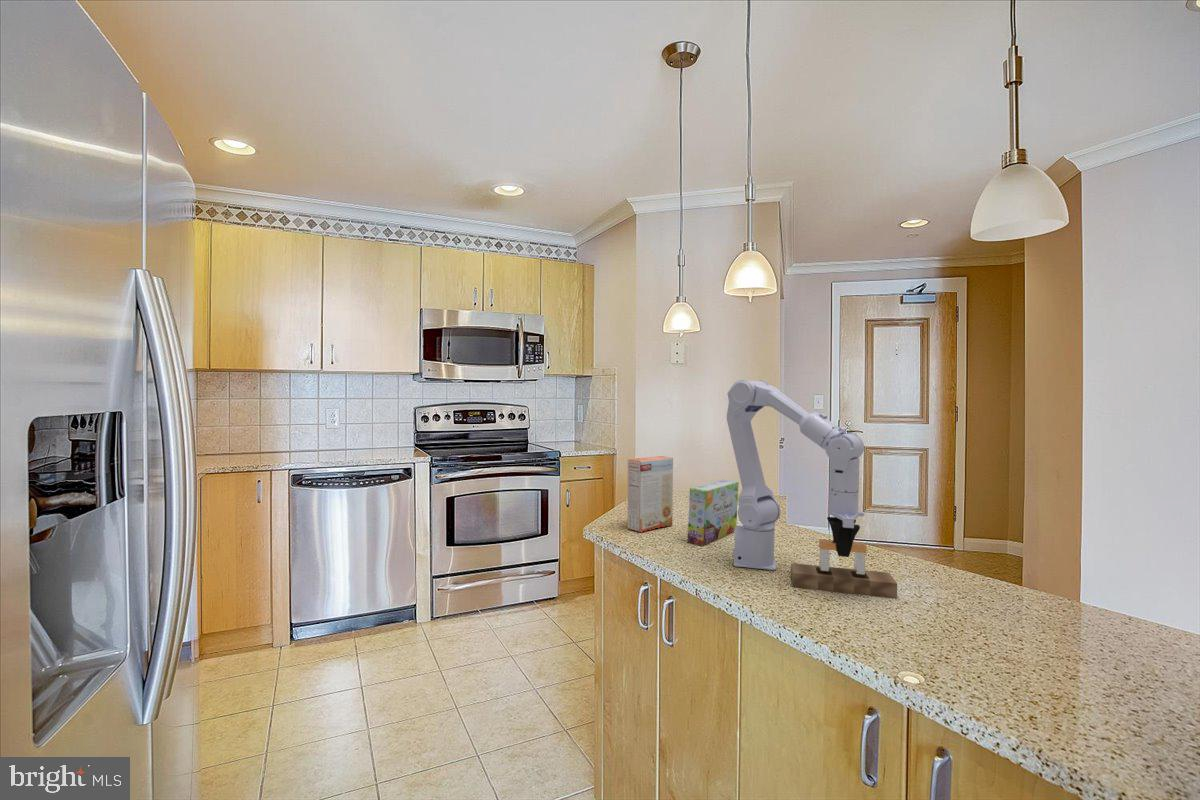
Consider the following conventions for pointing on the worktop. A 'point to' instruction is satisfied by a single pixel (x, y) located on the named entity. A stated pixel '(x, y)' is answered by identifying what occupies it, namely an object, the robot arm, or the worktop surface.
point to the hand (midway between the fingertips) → (842, 553)
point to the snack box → (712, 511)
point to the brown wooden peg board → (843, 580)
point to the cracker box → (650, 493)
